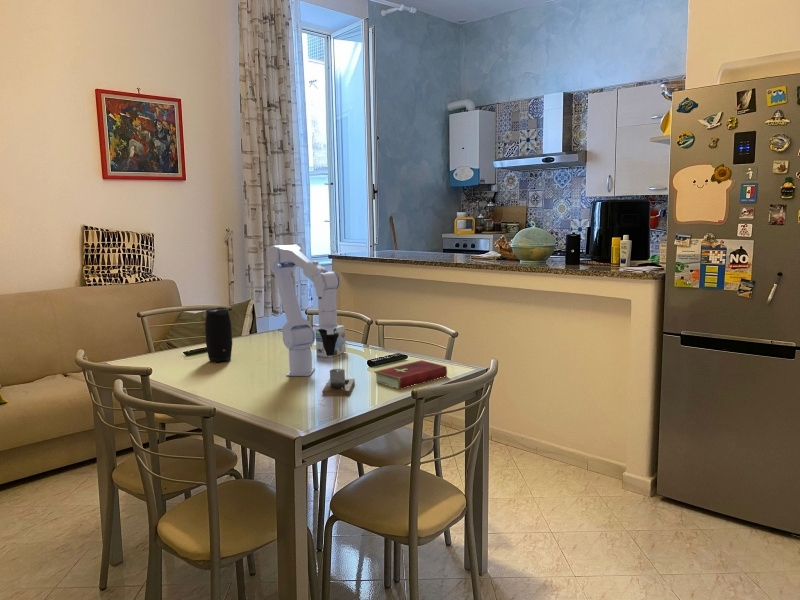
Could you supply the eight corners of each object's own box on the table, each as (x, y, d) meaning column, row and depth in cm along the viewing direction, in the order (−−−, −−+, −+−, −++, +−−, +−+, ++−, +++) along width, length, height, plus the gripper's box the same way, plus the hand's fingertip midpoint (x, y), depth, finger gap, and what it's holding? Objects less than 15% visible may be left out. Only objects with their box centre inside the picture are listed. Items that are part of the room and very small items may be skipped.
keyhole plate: (329, 383, 193) (329, 378, 193) (354, 383, 192) (354, 378, 192) (322, 395, 180) (322, 390, 180) (349, 395, 180) (349, 390, 179)
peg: (336, 389, 186) (335, 368, 185) (348, 391, 184) (347, 369, 183) (327, 393, 182) (326, 371, 181) (339, 395, 180) (338, 373, 179)
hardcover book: (447, 378, 199) (447, 365, 199) (399, 391, 185) (399, 377, 185) (421, 371, 208) (421, 359, 207) (374, 383, 194) (374, 370, 194)
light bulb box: (329, 358, 227) (328, 330, 225) (315, 356, 230) (314, 328, 229) (346, 352, 236) (345, 325, 234) (332, 350, 239) (332, 323, 238)
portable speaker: (232, 362, 222) (230, 309, 219) (206, 364, 220) (203, 311, 217) (233, 357, 231) (230, 306, 228) (207, 358, 228) (204, 307, 225)
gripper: (313, 307, 196) (314, 348, 198) (316, 314, 182) (318, 358, 184) (334, 306, 198) (336, 347, 200) (339, 313, 184) (341, 357, 186)
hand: (328, 352), depth 192 cm, fingers open, 7 cm apart
